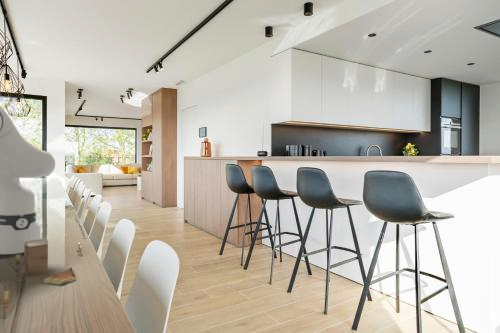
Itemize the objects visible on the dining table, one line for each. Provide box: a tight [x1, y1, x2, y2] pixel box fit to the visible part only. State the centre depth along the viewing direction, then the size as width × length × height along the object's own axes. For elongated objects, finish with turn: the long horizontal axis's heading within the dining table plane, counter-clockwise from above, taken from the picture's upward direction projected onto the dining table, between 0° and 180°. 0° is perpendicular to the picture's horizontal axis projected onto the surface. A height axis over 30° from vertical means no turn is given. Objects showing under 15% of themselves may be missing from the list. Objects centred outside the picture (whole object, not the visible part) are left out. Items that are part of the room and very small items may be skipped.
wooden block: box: [23, 237, 49, 277], centre depth 102 cm, size 5×5×10 cm
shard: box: [43, 266, 77, 286], centre depth 98 cm, size 11×8×2 cm
